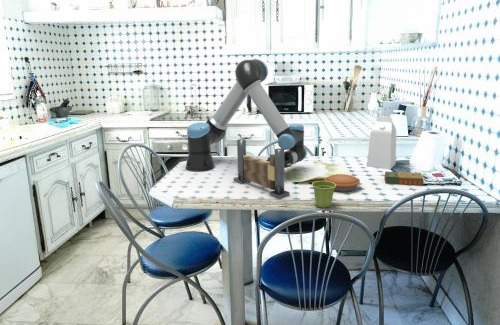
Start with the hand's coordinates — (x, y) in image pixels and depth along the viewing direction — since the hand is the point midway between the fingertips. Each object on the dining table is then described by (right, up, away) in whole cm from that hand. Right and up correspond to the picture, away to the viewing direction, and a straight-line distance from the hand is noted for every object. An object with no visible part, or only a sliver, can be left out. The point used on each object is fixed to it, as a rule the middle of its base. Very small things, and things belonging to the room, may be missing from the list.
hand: (260, 170), depth 183 cm
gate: (-1, -6, 0) cm, 6 cm away
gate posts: (0, -8, +1) cm, 8 cm away
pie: (+36, -8, -1) cm, 37 cm away
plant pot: (+24, -14, -21) cm, 35 cm away
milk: (+65, +2, +34) cm, 73 cm away
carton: (+66, -6, +5) cm, 66 cm away
